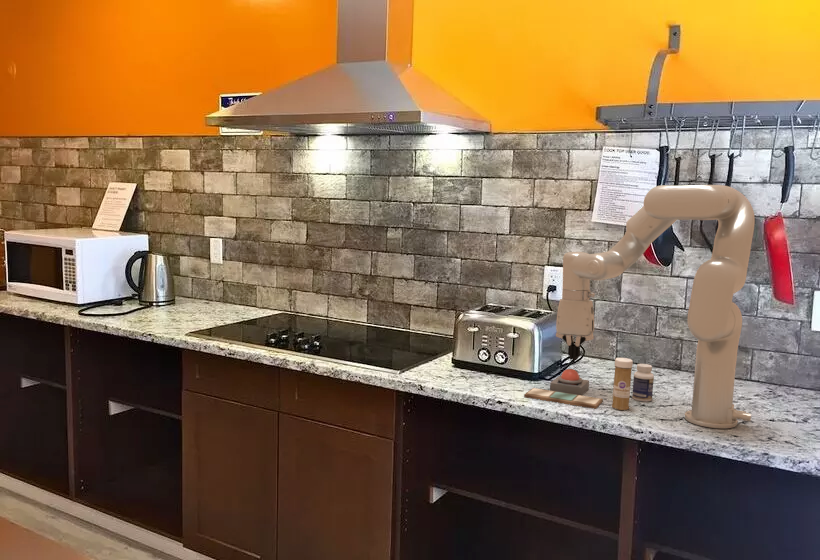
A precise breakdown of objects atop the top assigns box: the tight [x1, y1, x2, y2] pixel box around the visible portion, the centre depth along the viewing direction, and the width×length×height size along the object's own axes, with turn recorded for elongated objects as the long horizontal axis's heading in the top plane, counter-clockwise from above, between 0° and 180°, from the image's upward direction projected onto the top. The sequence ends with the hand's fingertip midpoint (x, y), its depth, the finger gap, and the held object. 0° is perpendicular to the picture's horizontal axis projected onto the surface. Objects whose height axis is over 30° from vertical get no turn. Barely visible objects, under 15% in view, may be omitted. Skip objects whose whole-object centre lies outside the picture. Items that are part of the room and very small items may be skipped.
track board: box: [523, 387, 604, 410], centre depth 209 cm, size 20×8×1 cm, turn 63°
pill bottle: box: [631, 363, 655, 403], centre depth 211 cm, size 5×5×10 cm
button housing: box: [549, 375, 590, 396], centre depth 218 cm, size 9×9×3 cm
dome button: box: [557, 368, 583, 385], centre depth 218 cm, size 7×7×6 cm
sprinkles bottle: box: [611, 357, 634, 411], centre depth 201 cm, size 5×5×13 cm
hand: (573, 358), depth 216 cm, fingers closed
